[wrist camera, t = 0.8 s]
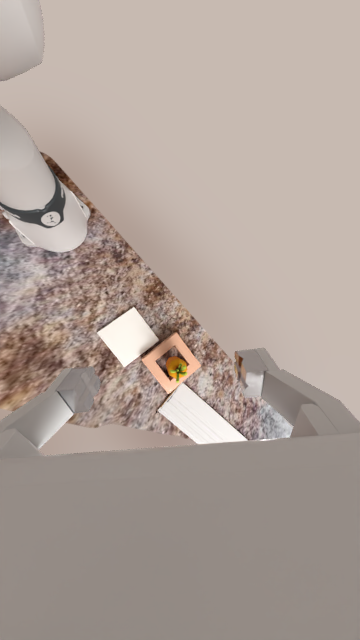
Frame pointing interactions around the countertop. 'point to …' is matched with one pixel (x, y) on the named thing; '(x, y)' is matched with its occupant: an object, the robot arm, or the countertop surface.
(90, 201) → the countertop surface
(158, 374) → the holder ring
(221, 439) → the baseboard molding
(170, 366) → the carrot
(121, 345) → the plate
